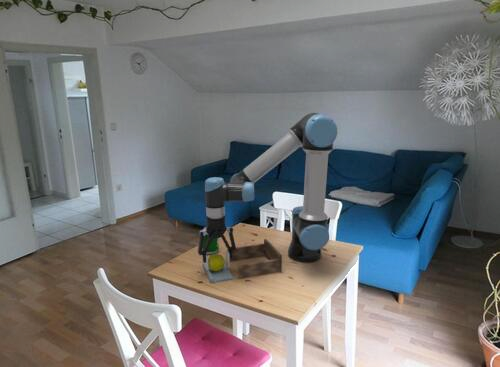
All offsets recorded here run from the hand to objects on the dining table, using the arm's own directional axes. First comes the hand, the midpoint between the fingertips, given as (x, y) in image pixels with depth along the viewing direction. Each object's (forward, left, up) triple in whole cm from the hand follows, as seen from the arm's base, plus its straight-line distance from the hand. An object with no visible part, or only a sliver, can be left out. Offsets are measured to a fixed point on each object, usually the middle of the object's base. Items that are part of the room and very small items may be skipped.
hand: (217, 267), depth 154 cm
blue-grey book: (-4, 0, -1) cm, 4 cm away
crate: (-16, 0, -2) cm, 16 cm away
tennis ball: (0, 0, -1) cm, 1 cm away
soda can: (-2, -21, -3) cm, 21 cm away
